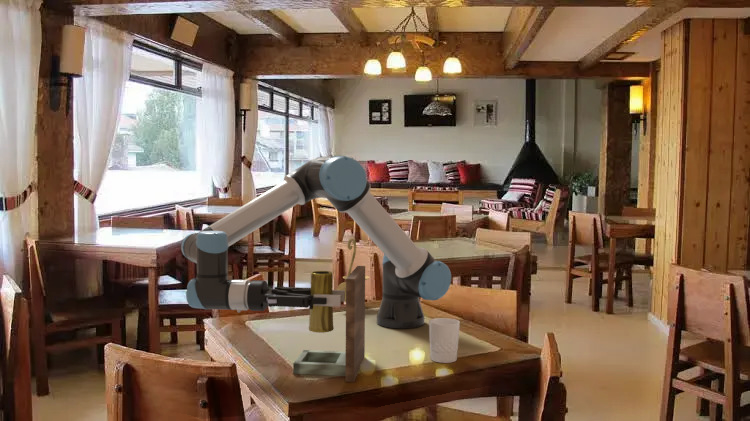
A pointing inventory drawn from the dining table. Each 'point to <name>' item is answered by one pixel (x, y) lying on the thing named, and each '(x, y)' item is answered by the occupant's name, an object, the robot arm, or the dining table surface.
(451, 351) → the white cup
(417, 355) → the dining table surface
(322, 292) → the vase
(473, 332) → the dining table surface
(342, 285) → the wall sconce
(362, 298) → the board
